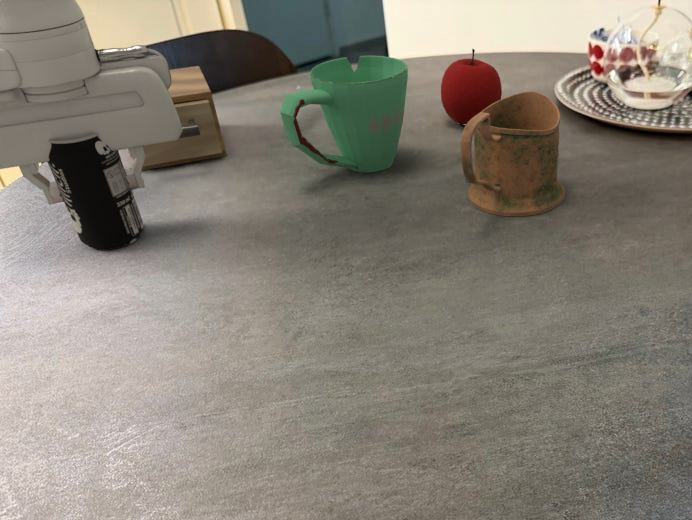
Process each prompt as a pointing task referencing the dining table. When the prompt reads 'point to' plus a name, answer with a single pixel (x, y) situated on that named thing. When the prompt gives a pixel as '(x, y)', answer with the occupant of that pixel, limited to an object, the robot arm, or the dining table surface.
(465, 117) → the apple
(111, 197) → the beverage can
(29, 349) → the dining table surface
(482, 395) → the dining table surface
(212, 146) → the drawer
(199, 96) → the cabinet
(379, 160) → the mug
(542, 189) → the mug
